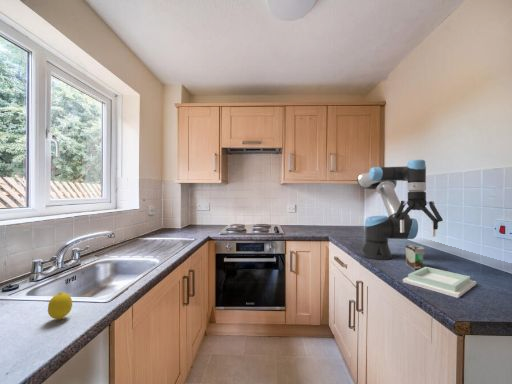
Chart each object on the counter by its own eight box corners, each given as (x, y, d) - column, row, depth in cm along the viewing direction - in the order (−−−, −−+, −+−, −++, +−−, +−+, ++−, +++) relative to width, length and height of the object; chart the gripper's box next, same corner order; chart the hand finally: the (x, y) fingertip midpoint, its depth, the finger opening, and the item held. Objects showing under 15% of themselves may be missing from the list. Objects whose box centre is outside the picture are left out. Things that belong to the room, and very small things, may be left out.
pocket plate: (402, 281, 97) (402, 274, 97) (424, 272, 109) (424, 265, 109) (458, 297, 82) (458, 288, 82) (476, 284, 94) (475, 276, 94)
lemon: (55, 326, 66) (55, 297, 66) (43, 322, 68) (43, 294, 68) (76, 316, 71) (76, 290, 71) (64, 313, 73) (64, 287, 73)
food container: (430, 271, 110) (430, 250, 110) (416, 270, 111) (415, 249, 111) (418, 263, 122) (418, 244, 122) (405, 263, 123) (404, 244, 123)
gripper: (386, 191, 124) (387, 231, 124) (444, 190, 104) (445, 238, 104) (393, 191, 129) (394, 230, 128) (450, 190, 108) (451, 237, 108)
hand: (417, 234), depth 116 cm, fingers open, 13 cm apart
